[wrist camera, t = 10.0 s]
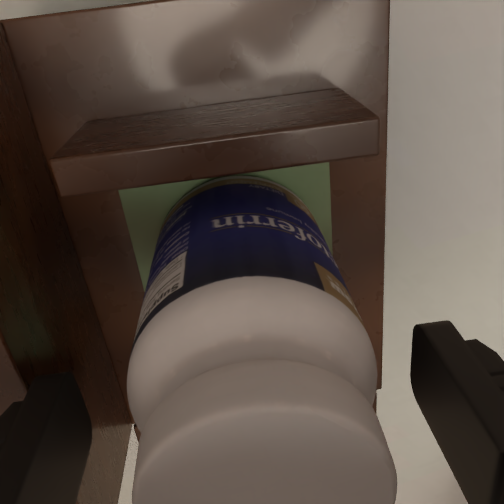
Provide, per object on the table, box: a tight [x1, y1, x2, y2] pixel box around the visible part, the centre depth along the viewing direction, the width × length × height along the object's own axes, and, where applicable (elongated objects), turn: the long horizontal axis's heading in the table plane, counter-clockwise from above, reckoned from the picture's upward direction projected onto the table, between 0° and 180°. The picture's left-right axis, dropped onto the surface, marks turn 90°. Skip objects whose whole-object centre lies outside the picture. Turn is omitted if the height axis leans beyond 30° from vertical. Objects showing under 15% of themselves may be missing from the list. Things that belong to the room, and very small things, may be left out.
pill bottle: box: [127, 176, 397, 504], centre depth 13 cm, size 6×6×10 cm
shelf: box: [0, 0, 390, 504], centre depth 17 cm, size 16×12×12 cm
